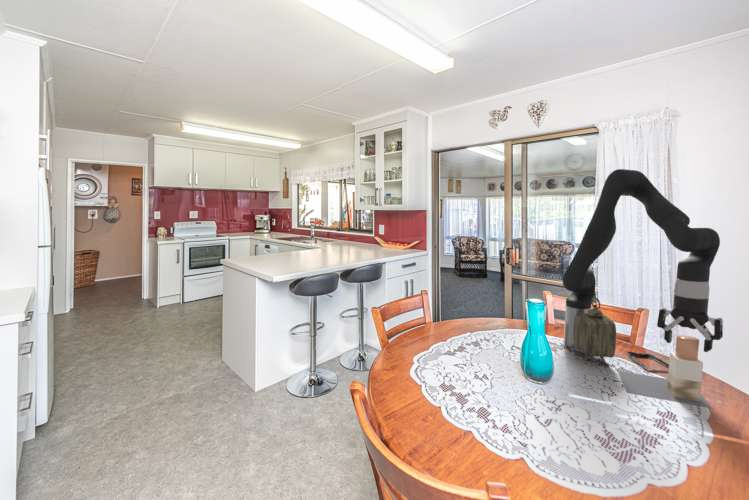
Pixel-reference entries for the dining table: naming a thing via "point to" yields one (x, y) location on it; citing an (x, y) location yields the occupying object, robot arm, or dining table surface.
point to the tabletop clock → (595, 333)
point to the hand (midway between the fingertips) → (686, 346)
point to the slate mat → (654, 388)
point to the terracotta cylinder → (687, 347)
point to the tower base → (684, 388)
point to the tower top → (685, 368)
